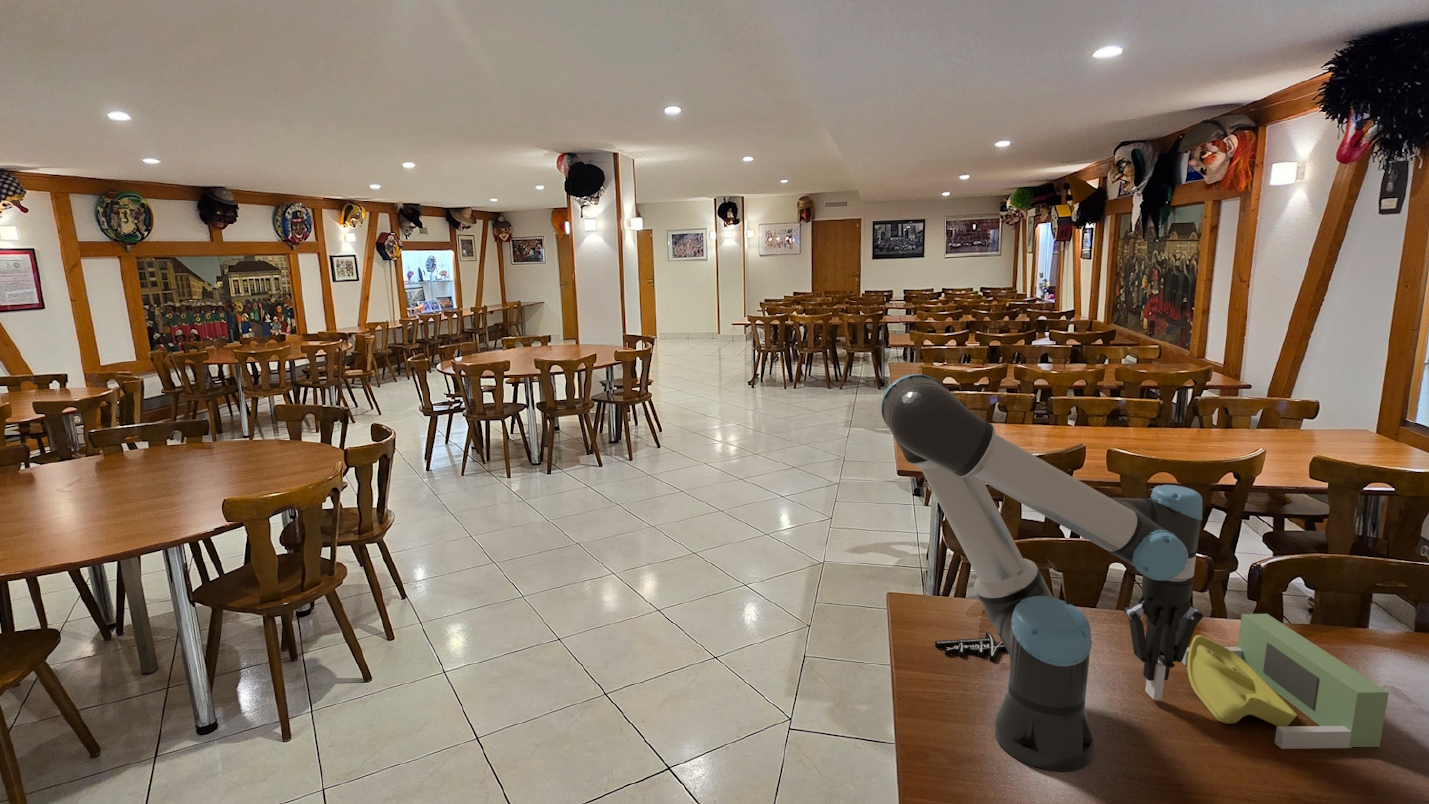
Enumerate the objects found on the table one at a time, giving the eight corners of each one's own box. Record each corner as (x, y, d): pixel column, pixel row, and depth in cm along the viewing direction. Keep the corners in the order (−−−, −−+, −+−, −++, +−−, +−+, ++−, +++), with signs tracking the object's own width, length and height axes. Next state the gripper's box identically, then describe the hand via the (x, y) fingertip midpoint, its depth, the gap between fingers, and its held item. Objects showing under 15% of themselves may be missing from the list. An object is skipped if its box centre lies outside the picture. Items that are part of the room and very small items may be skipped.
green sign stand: (1281, 748, 122) (1289, 693, 120) (1180, 661, 148) (1185, 614, 146) (1379, 747, 122) (1388, 692, 120) (1260, 660, 148) (1267, 613, 146)
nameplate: (1054, 628, 160) (1080, 652, 150) (1053, 634, 160) (1079, 659, 150) (930, 635, 158) (948, 660, 148) (929, 642, 158) (948, 667, 148)
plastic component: (1303, 720, 125) (1250, 695, 125) (1275, 752, 127) (1223, 728, 127) (1236, 651, 144) (1190, 630, 144) (1213, 680, 146) (1168, 659, 146)
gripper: (1143, 582, 127) (1128, 707, 131) (1219, 582, 127) (1202, 707, 131) (1119, 564, 134) (1106, 683, 139) (1191, 564, 134) (1176, 683, 138)
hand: (1153, 695), depth 135 cm, fingers closed
